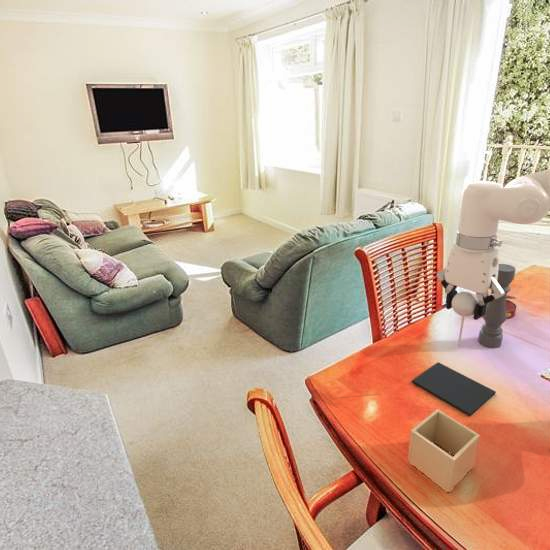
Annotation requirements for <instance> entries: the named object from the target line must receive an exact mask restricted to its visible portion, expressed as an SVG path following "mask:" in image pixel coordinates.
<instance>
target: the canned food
mask: <svg viewBox="0 0 550 550" xmlns="http://www.w3.org/2000/svg"><path fill="white" fill-rule="evenodd" d="M511 299H514V300H515V299H516V296H511V295H508V294H507V295H506V300H505V305H506V316H507V318H506V320H509V319H512V318H514V317H515V316H516V312H517V308H518V307H517V304H515V302H513V301H511ZM487 304H488V303H487Z"/></svg>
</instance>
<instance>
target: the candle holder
mask: <svg viewBox="0 0 550 550" xmlns="http://www.w3.org/2000/svg"><path fill="white" fill-rule="evenodd" d="M515 275H516V267H515V266H513V265H510V264H507V263H499V269H498V279H497V282H498V283H499V285H500V286H501V288H502V289H503V290H504V292H505V295H503V296H502V297H500V298H498V299H495V300H493V301H491V302H489V303H488V304H487V306H486V312H485V315H484V316H483V317H482V318H483V320H484V323H483V324H482V325H481V326H480V327H481V328H480V330H479V333H478V338H477V341H478V343H479V345H481V346H483V347H486V348H490V349H497V348H500V347H501V346H502V342H503V336H504V335H503V332H504V331H503V328H502V325H503V324H504V323H505V322H506V320H507V319H506V318H507V316H506V305H505V300H507V299H506V295H507V296H508V293H509V292H511V286H510V284H512V282H513V281H514V279H515ZM491 294H494V291H493V289H490V295H491Z"/></svg>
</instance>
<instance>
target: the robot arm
mask: <svg viewBox="0 0 550 550" xmlns="http://www.w3.org/2000/svg"><path fill="white" fill-rule="evenodd" d="M549 211H550V168H548V169H543V170H540V171H536V172H532V173H529V174H525V175H521V176H518V177H516V178H514V179H512V180H510V182H509V181H508V183H507V184H506V185H505V186H503V185H502V184H501V183H498V182H494V181H473V182H469V183H467V184H466V185H465V186H464V187H463V189H462V193H461V201H460V209H459V216H458V224H457V232H456V239H455V241H454V242H453V243H452V245H451V248H450V251H449V254H448V257H447V261H446V266H445V268H444V269H441V270H440V271H438V272H437V273H436V277H437V279H438V280H439V281H440V284H441V285H442V287H443V289H444V293H445V294H446V296H445V297H446V298H445V304H446V305H445V309H447V310H450V309H453V308H452V299H453V297H454V296H455V295H456V294H457V293H459V292H458V290H457V288H458V287H459V288H460V289H463V290H468V291H469V292H472V293H475V295H476V296H477V299H478V303H477V304H476V305H475V310H474V314H473V315H472V316H473V317H472V318H473V320H474V321H477V320H479V319H480V318H483V316H484V315H485V312H486V306H487V303H489V302H491V301H493V300H495V299H498V298H500V297H502V296H503V295H505V292H504V290H503V289H502V288H501V286H500V285H499V283H498V282H497V279H498V269H499V264H500V263H499V262H500V255H499V253H500V252H499V247H501V246H502V244H503V240H500V239H498V233H497V232H498V228H499V222H500V221H501V222H507V223H512V224H519V225H531V224H535V223H537V222H540V221H542V220H543V219H544V218H545V217H546V216H547V215H548V214H549ZM489 289H490V290H491V289H493V291H494V294H491V293H489Z"/></svg>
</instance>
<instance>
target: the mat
mask: <svg viewBox="0 0 550 550" xmlns="http://www.w3.org/2000/svg"><path fill="white" fill-rule="evenodd" d="M411 383H412V384H414V385H415V386H417V387H419V388H420V389H422V390H423V391H426V392H427V393H429V394H431V395H432V396H434V397H436V398H437V399H439V400H440V401H443V402H444V403H446V404H448V406H451V407H453V408H454V409H455V410H458V411H460V412H461V413H462V414H464V415H466V416H468V417H472V415H474V413H476V412H477V411H478V410H480V409H481V407H482V406H484V405H485V404H486V403H487V402H488V401H490V399H491V398H492V397H494V395H496V392H497V391H495V390H494V389H491V388H490V387H488V386H485V384H482V383H480V382H478V381H476V380H475V379H472V378H470V377H468V376H466V375H465V374H462V373H460V372H458V371H456V370H454V369H452V368H450V367H449V366H446V365H445V364H443V363H441V362H439V361H437V362H436V363H435V364H433V365H431V367H429V368H427V369H426V370H425V371H423V372H422V373H420V374H419V375H418V376H416V377H415V378H413V379H412V380H411Z"/></svg>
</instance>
